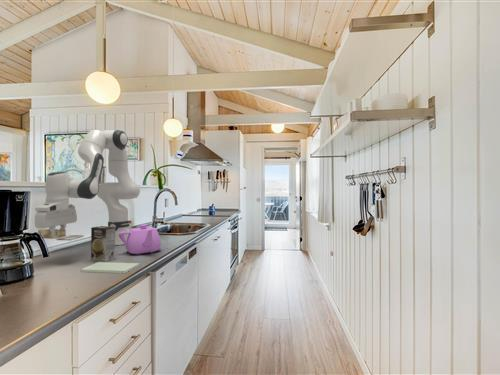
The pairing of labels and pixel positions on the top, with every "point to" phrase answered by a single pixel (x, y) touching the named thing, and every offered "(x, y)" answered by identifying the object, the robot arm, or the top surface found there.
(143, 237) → the teapot
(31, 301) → the top surface
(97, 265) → the board
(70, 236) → the turner
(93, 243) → the coffee box
